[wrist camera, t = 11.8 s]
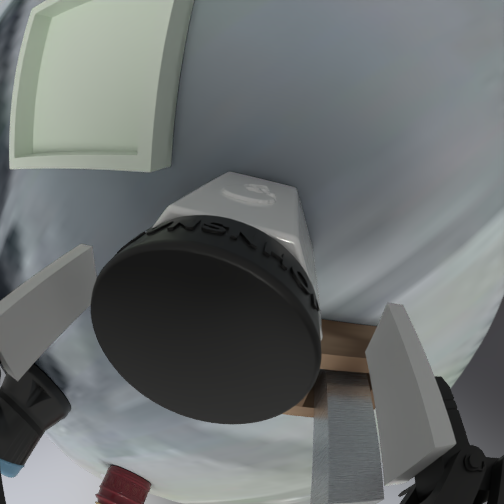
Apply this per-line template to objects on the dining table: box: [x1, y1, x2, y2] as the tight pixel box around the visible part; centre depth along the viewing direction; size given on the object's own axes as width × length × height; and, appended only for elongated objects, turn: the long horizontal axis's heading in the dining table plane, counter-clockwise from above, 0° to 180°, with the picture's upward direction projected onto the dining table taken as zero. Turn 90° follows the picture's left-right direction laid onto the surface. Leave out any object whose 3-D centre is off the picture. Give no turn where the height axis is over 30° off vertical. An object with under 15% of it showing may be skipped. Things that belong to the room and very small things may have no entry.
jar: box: [91, 172, 323, 424], centre depth 14 cm, size 9×8×12 cm
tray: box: [9, 0, 194, 173], centre depth 14 cm, size 16×16×3 cm
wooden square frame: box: [282, 319, 377, 417], centre depth 21 cm, size 8×8×4 cm
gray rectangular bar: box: [310, 369, 384, 504], centre depth 16 cm, size 3×3×14 cm
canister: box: [95, 465, 151, 504], centre depth 44 cm, size 13×13×18 cm
